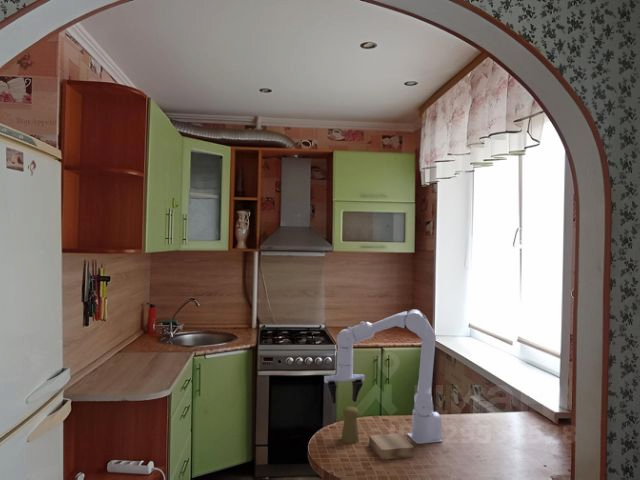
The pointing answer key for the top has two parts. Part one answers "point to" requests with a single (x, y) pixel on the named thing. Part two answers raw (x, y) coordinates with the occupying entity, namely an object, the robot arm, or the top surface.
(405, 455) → the walnut block
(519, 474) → the top surface
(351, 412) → the cork
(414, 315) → the robot arm
